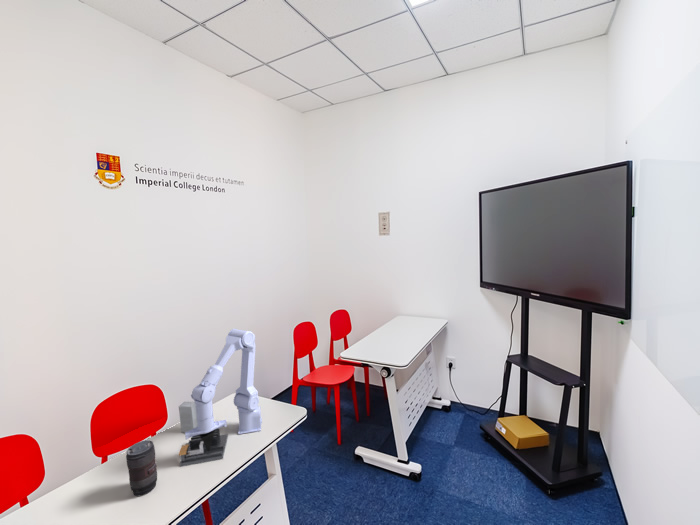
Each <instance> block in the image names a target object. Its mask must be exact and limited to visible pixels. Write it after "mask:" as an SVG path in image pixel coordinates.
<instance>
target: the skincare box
mask: <svg viewBox="0 0 700 525" xmlns="http://www.w3.org/2000/svg"><path fill="white" fill-rule="evenodd" d="M178 411H179V414H178V415H179V424H180V432H181V433H185V432H187V431H190V430H192V429H194V428H196V427H198V424H197V414H196V404H195V401H183V402H182V403H181V404H180V405H178Z"/></svg>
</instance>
